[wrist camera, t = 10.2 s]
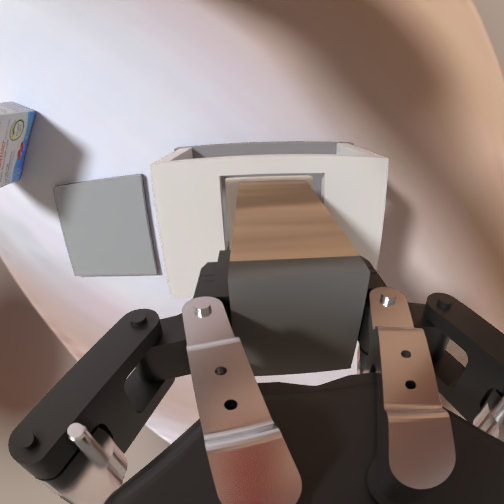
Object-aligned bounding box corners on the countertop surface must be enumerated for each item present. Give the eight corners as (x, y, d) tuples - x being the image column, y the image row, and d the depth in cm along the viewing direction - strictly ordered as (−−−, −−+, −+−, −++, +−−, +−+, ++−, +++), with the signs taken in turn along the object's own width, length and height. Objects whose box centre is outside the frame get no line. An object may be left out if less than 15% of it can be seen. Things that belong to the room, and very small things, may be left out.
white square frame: (177, 147, 25) (141, 165, 17) (349, 142, 25) (395, 158, 17) (201, 333, 34) (189, 397, 25) (334, 327, 33) (355, 389, 25)
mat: (55, 186, 26) (53, 187, 26) (142, 173, 26) (140, 174, 26) (76, 273, 30) (74, 275, 30) (157, 272, 30) (156, 274, 30)
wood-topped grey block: (238, 182, 18) (227, 278, 8) (305, 179, 18) (370, 271, 8) (242, 242, 20) (237, 376, 10) (304, 240, 20) (350, 368, 10)
